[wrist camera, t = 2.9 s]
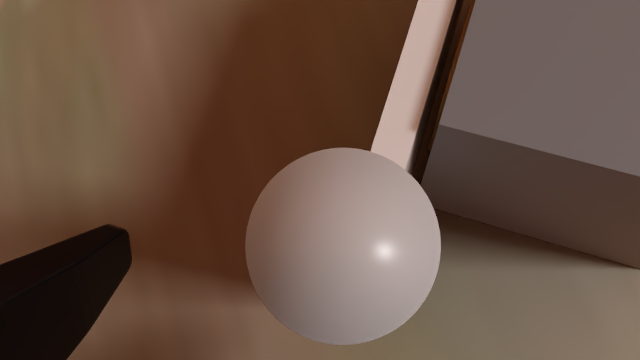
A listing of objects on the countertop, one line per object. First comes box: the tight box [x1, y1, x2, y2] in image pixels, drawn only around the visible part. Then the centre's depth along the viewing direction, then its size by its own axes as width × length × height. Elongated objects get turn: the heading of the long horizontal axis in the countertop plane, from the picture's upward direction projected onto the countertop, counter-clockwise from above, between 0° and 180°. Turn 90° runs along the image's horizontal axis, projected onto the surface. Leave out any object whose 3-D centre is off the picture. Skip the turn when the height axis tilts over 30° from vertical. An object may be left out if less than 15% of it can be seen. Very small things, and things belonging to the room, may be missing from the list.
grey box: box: [420, 0, 640, 269], centre depth 14 cm, size 10×8×9 cm
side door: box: [245, 0, 464, 345], centre depth 13 cm, size 12×3×11 cm, turn 162°
